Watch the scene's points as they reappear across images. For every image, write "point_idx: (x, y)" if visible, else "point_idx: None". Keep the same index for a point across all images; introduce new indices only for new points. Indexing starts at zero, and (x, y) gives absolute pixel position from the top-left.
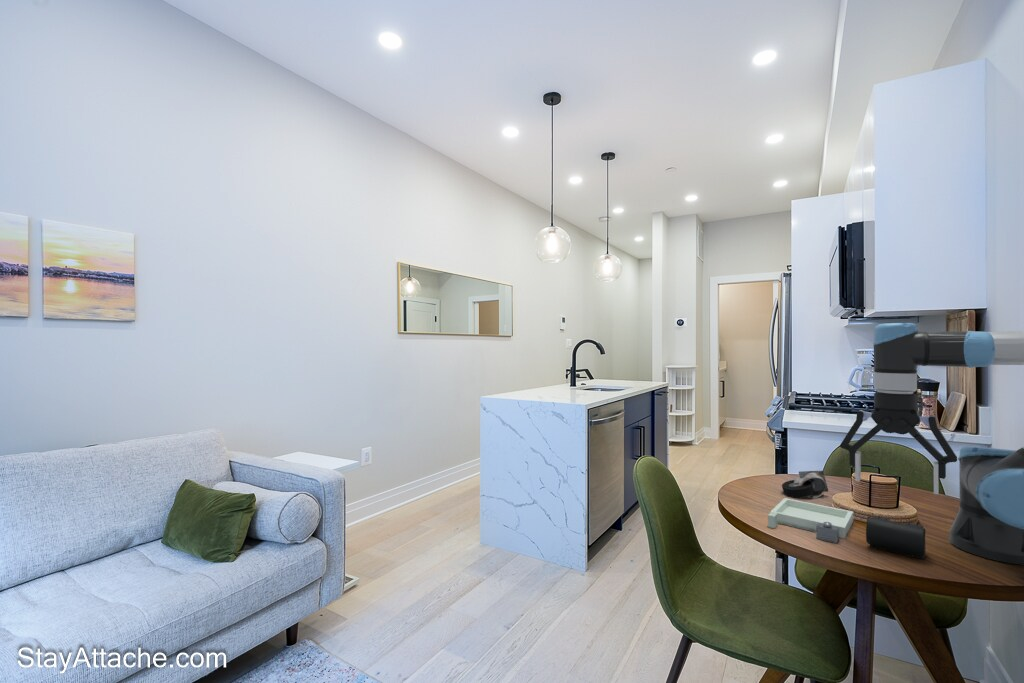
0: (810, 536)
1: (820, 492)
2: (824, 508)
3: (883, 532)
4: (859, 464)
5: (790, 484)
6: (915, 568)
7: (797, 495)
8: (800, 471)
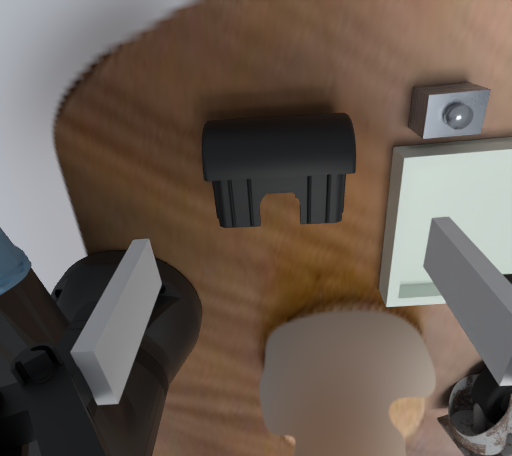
0: None
1: (453, 405)
2: None
3: (304, 123)
4: (474, 283)
5: None
6: (219, 53)
7: None
8: None
